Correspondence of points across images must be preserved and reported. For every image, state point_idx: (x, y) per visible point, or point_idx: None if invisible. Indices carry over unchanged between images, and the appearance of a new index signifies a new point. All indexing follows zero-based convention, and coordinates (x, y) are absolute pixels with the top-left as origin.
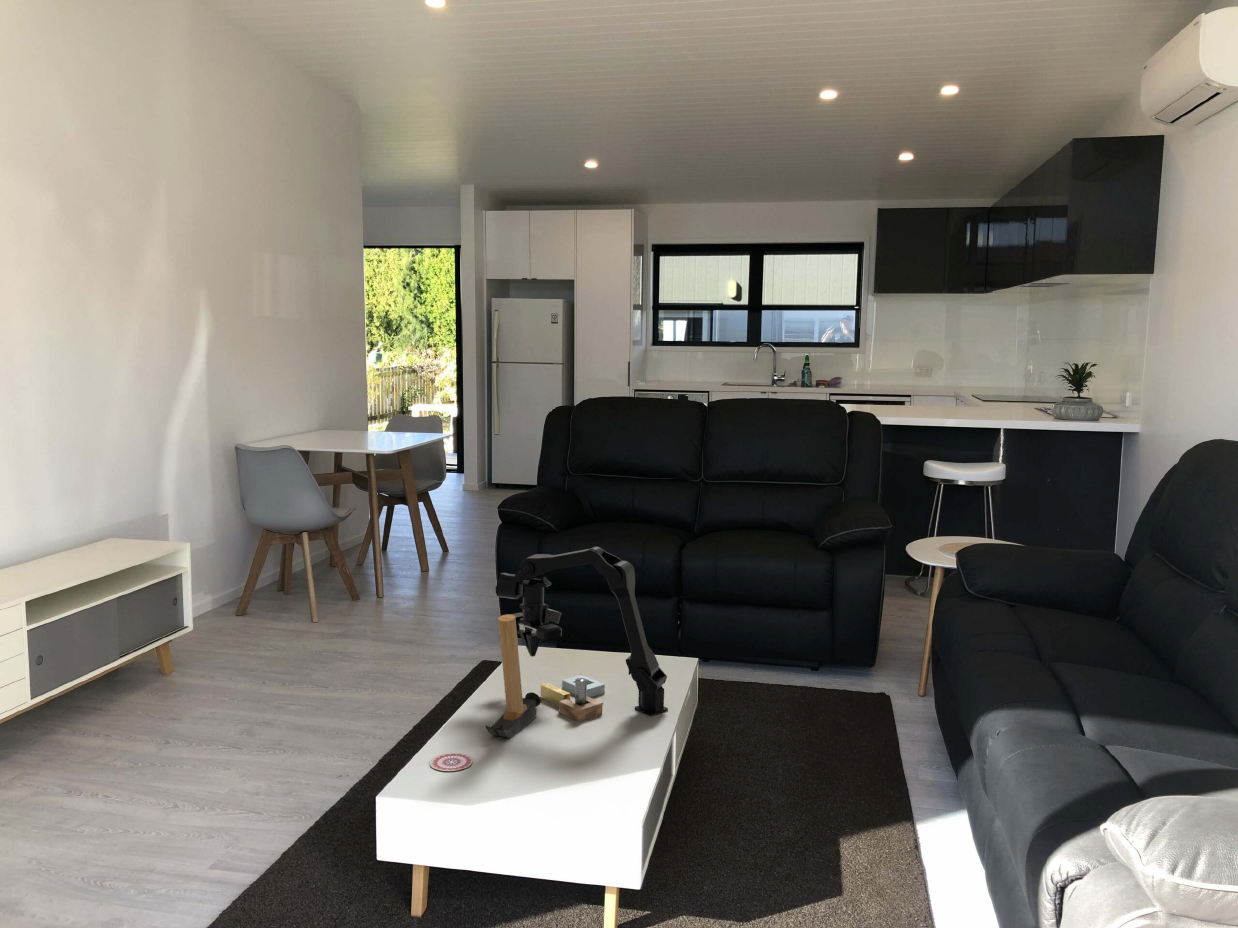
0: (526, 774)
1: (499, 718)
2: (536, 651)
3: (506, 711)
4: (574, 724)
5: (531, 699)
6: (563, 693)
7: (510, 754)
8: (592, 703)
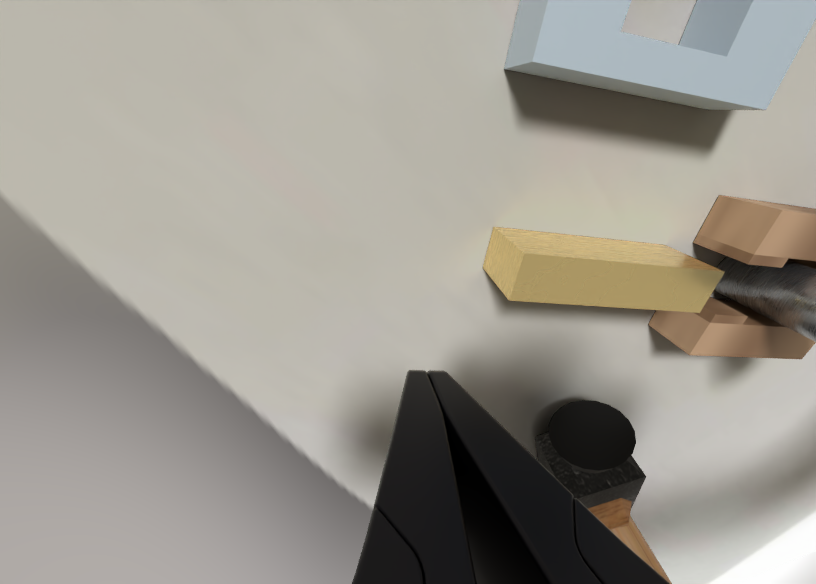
0: (712, 544)
1: None
2: (481, 408)
3: None
4: None
5: (619, 473)
6: (690, 300)
7: (644, 534)
8: None
